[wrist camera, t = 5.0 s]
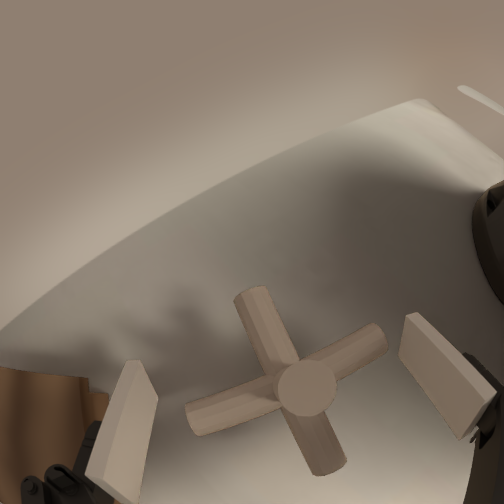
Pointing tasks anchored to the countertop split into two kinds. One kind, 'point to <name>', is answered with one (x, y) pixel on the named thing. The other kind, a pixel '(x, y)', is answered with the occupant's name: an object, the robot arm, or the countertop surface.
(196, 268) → the countertop surface
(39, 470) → the walnut stand
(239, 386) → the pipe connector
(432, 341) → the robot arm
